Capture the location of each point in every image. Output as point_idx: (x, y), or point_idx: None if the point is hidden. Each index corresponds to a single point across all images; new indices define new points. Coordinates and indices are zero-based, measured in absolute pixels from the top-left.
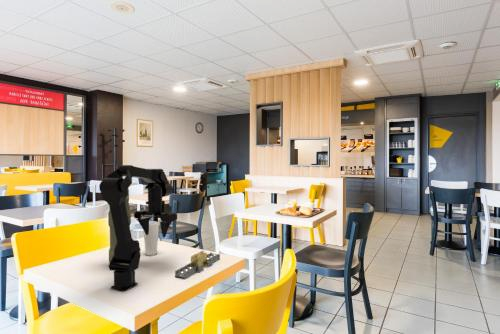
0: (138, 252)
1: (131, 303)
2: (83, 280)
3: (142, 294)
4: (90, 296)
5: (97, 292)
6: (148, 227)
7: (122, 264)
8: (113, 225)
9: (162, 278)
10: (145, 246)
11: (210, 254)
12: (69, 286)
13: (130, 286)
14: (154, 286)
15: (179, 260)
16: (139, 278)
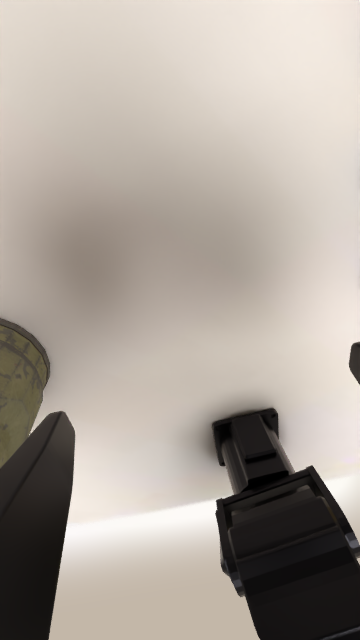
0: (357, 542)
1: (348, 456)
2: (79, 490)
3: (340, 424)
4: None
5: (210, 485)
6: (18, 511)
7: (43, 388)
8: None
9: (316, 326)
10: None
11: None
12: (100, 517)
13: (275, 433)
14: (337, 380)
15: (201, 49)
16: (230, 380)
